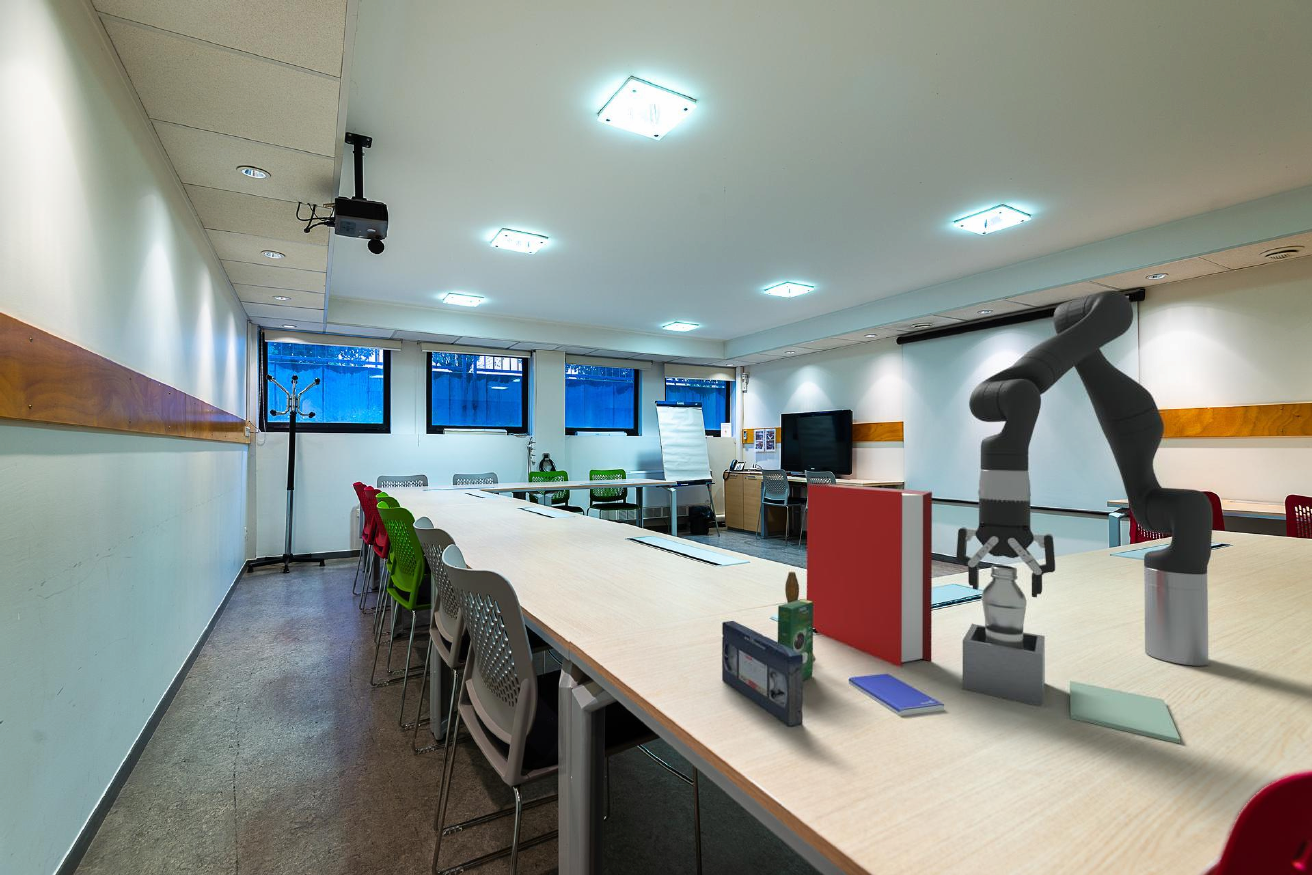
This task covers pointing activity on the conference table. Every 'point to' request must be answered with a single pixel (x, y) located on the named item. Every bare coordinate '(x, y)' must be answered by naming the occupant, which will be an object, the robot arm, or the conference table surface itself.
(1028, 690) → the sleeve
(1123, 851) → the conference table surface
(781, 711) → the vhs cassette tape
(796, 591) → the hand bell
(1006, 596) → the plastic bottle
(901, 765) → the conference table surface
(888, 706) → the hard drive
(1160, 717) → the mat
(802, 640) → the coffee box
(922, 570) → the book
